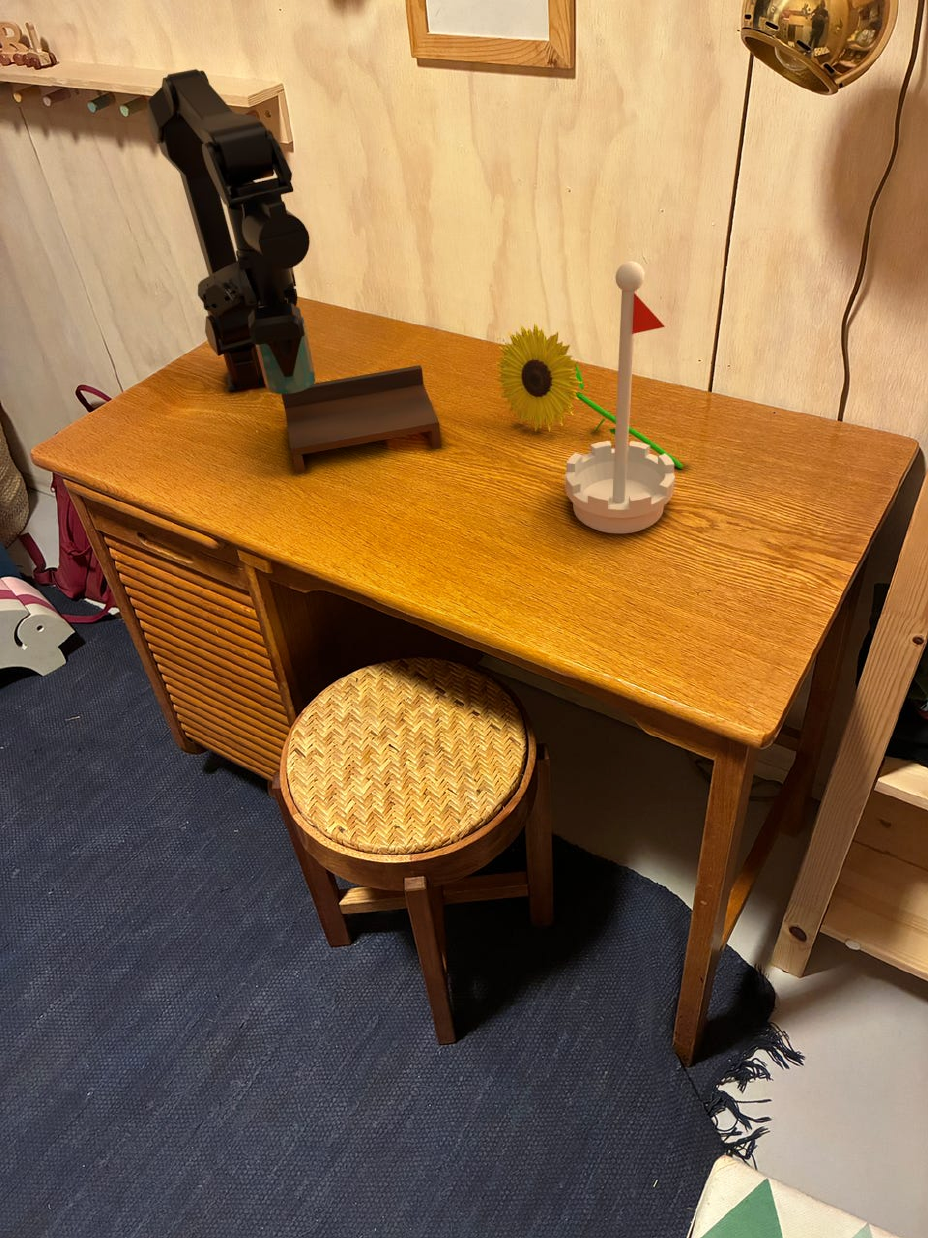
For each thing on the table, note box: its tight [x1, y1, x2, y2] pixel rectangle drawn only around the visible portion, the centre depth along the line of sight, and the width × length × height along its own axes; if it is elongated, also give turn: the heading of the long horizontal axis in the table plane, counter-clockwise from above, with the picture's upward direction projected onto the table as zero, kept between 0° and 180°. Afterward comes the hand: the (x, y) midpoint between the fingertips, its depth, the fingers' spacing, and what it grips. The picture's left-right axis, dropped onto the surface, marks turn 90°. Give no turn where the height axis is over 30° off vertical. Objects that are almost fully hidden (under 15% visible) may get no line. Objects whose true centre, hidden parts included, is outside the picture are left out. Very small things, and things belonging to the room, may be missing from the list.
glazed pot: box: [255, 316, 317, 395], centre depth 118 cm, size 7×7×8 cm
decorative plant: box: [494, 321, 684, 470], centre depth 121 cm, size 15×6×30 cm
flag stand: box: [564, 261, 676, 534], centre depth 102 cm, size 13×13×30 cm
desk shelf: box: [280, 364, 442, 474], centre depth 126 cm, size 12×20×6 cm, turn 103°
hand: (287, 363), depth 119 cm, fingers closed on glazed pot, 6 cm apart
